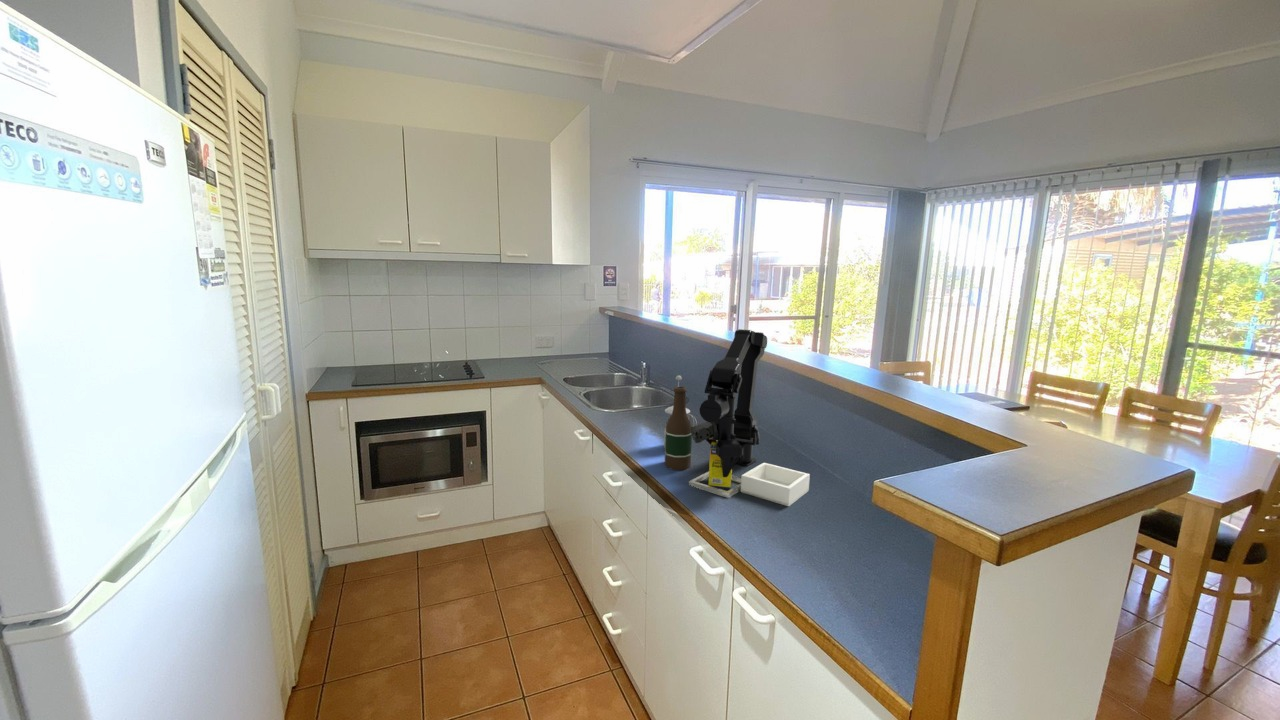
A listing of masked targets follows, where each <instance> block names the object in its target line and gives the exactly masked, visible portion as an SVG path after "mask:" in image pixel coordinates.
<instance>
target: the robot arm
mask: <svg viewBox="0 0 1280 720" xmlns="http://www.w3.org/2000/svg"><path fill="white" fill-rule="evenodd" d="M767 346H768V337H767V336H766V335H765V334H764V332H761V331H760V332H758V331H754V330H752V329H740V328H739V329H736V330H735V332H734V338H733V339H732V342H731V344H730V345H729V348H728V350H727V352H726V353H725V356H724V357H723V358H722V359H720V360H719V361H716V363H715V364H714V366H713V367H712V369H711V370H710V371H709V375H708V378H707V381H706V384H705V389H704V394H708V395H707V399H706V400H703V402H702V403H701V404H700V407H699V414H700V417H701V418H702V419H703V420H704V421H705V422H702V423H699V424H697V425H696V424H695V425H694V426H692V427H691V428H690V431H691V434H692V440H693V441H694V443H695V444H700V443H702V442H703V441H706V442H707V443H708V444H709V445H710V446H711V443H712V442H716V454H717V455H718V456H719V457H720V458H721V465H722V474H723V477H728V475H729V473H730V471H731V469H732V470H733V467H735V464H738V465H741V466H746V467H748V466H750V465H751V464H753V463H755V462H757V459H756V458H753V448H754V447H753V446H756V445H760V441H761V439H760V436H761V435H760V432H759V427H758V424H757V418H756V415H755V414H754V412H753V405H754V404H753V403H754V397H755V395H754V394H755V387H756V386H755V385H756V378H757V370H758V369H757V368H758V362H759V361H760V360H761V358H762V357H763V356H764V355H765V350H766V348H767ZM736 395H737V400H736ZM736 401H737V402H736ZM735 407H736V408H735Z"/></svg>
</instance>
